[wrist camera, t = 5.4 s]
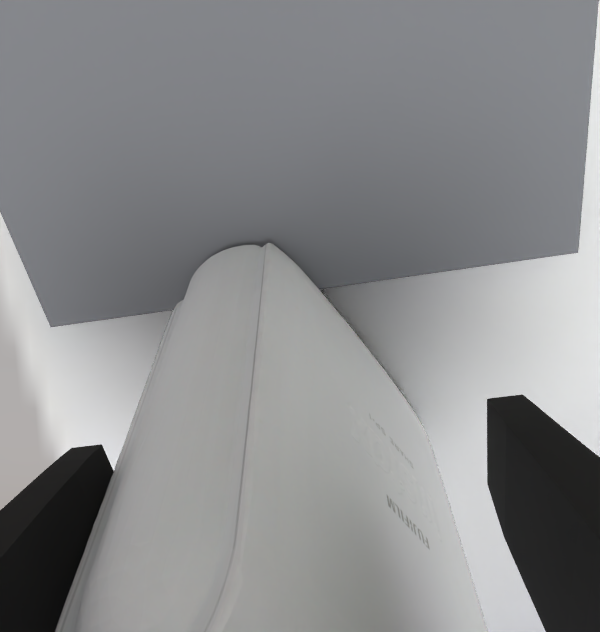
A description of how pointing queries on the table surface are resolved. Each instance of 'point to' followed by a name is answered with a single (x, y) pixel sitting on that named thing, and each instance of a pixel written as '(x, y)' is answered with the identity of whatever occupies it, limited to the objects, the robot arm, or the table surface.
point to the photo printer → (271, 479)
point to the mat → (286, 139)
